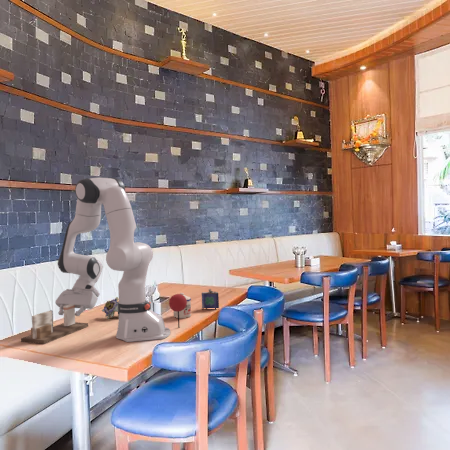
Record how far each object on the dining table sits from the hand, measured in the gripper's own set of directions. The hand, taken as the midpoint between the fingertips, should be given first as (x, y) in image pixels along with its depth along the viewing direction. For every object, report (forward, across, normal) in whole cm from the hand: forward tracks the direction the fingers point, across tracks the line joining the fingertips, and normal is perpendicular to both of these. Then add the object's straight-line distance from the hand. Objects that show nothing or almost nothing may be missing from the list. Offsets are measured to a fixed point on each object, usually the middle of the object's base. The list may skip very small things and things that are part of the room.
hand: (68, 315), depth 183 cm
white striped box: (+3, 0, +4) cm, 5 cm away
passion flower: (-13, +8, +22) cm, 27 cm away
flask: (-32, +49, +41) cm, 71 cm away
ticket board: (+10, 0, -1) cm, 10 cm away
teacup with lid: (-20, +41, +29) cm, 54 cm away
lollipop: (-5, +49, +15) cm, 51 cm away
